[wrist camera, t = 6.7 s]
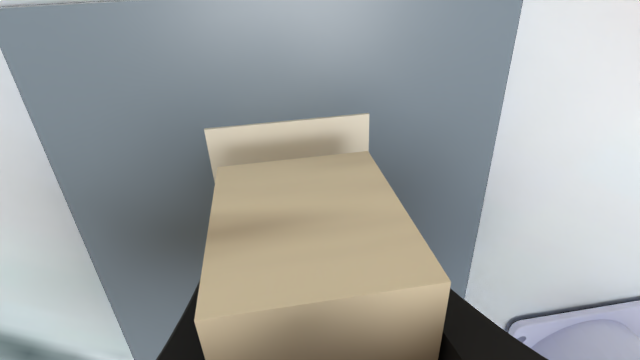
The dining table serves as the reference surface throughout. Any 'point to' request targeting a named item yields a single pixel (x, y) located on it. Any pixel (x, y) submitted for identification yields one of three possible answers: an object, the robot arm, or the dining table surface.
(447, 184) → the baseplate
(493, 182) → the dining table surface
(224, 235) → the beech brick
